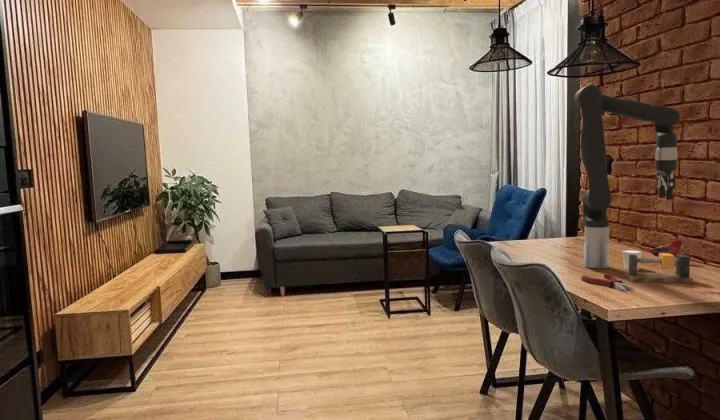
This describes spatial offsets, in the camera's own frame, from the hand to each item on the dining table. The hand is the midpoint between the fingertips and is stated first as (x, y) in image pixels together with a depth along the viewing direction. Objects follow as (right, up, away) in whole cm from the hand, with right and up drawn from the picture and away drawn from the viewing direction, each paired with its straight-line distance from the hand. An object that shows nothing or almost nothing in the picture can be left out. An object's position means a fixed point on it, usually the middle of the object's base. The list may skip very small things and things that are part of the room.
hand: (665, 198), depth 198 cm
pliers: (-35, -33, -21) cm, 52 cm away
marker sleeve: (-11, -26, -18) cm, 34 cm away
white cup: (-12, -29, +2) cm, 31 cm away
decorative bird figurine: (+5, -27, +10) cm, 30 cm away
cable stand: (-13, -31, -17) cm, 37 cm away
